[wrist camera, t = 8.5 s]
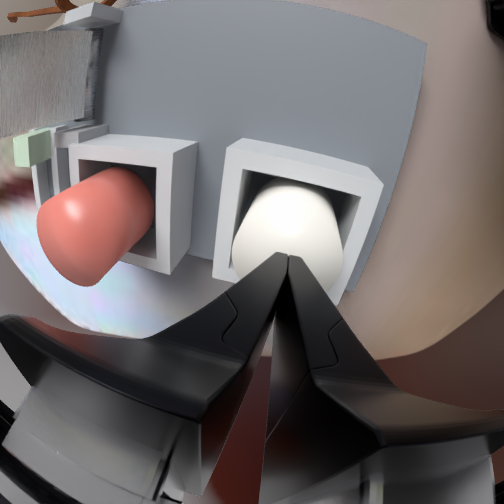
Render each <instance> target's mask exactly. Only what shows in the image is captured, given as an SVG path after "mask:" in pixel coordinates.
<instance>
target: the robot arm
mask: <svg viewBox="0 0 504 504" xmlns="http://www.w3.org/2000/svg"><path fill="white" fill-rule="evenodd" d="M487 23H488V27H489V28H490V30H491V31H492V32H493V33H494V34H496V35H497V36H498V37H500V38H501V39H502V40H504V0H487ZM494 25H495V26H496V28H495V26H494ZM274 317H275V320H274ZM273 320H274V334H273V349H272V364H271V365H272V366H271V378H270V392H269V405H268V416H267V428H266V438H265V448H264V459H263V468H262V479H261V488H260V496H259V504H504V481H502V482H500V483H498V484H496V485H495V483H494V474H493V467H492V461H491V454H492V453H494V452H495V451H497V450H498V449H499V448H501V447H502V446H504V410H502V409H497V410H491V411H479V410H470V409H465V408H460V407H456V406H452V405H448V404H444V403H440V402H436V401H432V400H428V399H425V398H421V397H418V396H414V395H411V394H408V393H406V392H404V391H402V390H401V389H400V388H398V387H397V386H396V385H395V384H394V383H393V382H392V381H391V380H390V378H389V377H388V376H387V375H386V373H385V372H384V371H383V370H382V369H381V367H380V366H379V365H378V364H377V362H376V361H375V360H374V359H373V358H372V356H371V355H370V354H369V353H368V351H367V350H366V349H365V348H364V346H363V345H362V344H361V343H360V341H359V340H358V339H357V337H356V336H355V334H354V333H353V332H352V330H351V329H350V327H349V326H348V324H347V323H346V321H345V320H344V319H343V317H342V316H341V314H340V313H339V311H338V310H337V308H336V307H335V305H334V304H333V302H332V301H331V299H330V298H329V296H328V295H327V293H326V292H325V291H324V289H323V288H322V286H321V285H320V283H319V282H318V280H317V279H316V278H315V276H314V275H313V273H312V272H311V270H310V269H309V268H308V266H307V265H306V263H305V262H304V260H303V259H302V258H301V257H299V256H294V255H289V256H288V254H286V253H281V252H275V253H274V254H273V255H271V256H270V257H269V258H268V259H266V260H265V261H264V262H262V263H261V264H260V265H259V266H257V267H256V268H255V269H254V270H252V271H251V272H250V273H248V274H247V275H246V276H245V277H243V278H242V279H241V280H240V281H238V282H237V283H236V284H234V285H233V286H232V287H231V288H229V289H228V290H227V291H225V292H224V293H223V294H221V295H220V296H219V297H217V298H216V299H215V300H213V301H212V302H211V303H209V304H208V305H206V306H205V307H203V308H202V309H200V310H198V311H197V312H195V313H193V314H192V315H190V316H188V317H186V318H185V319H183V320H181V321H179V322H177V323H175V324H174V325H172V326H170V327H168V328H166V329H165V330H163V331H161V332H159V333H157V334H155V335H153V336H150V337H147V338H143V339H127V338H116V337H105V336H96V335H88V334H80V333H74V332H69V331H64V330H61V329H58V328H55V327H52V326H50V325H48V324H46V323H44V322H42V321H41V320H39V319H37V318H35V317H33V316H30V315H22V314H8V315H4V316H1V317H0V342H1V344H2V346H3V347H4V349H5V350H6V352H7V353H8V355H9V356H10V358H11V359H12V361H13V362H14V364H15V365H16V367H17V368H18V369H19V371H20V372H21V373H22V375H23V376H24V377H25V379H26V380H27V381H28V383H29V384H30V385H31V388H30V390H29V392H28V393H27V395H26V396H25V397H24V399H23V401H22V402H21V404H20V405H19V407H18V408H17V410H16V412H13V411H12V410H11V409H10V408H9V407H8V406H7V405H5V404H4V403H3V402H2V401H1V400H0V504H184V503H183V502H182V499H183V496H184V492H186V493H190V494H193V495H197V496H202V494H203V491H204V489H205V487H206V485H207V483H208V480H209V479H210V476H211V474H212V472H213V470H214V467H215V465H216V463H217V461H218V458H219V456H220V454H221V452H222V449H223V447H224V445H225V442H226V440H227V438H228V435H229V433H230V430H231V428H232V426H233V423H234V421H235V419H236V416H237V414H238V411H239V409H240V406H241V404H242V402H243V399H244V397H245V394H246V392H247V389H248V387H249V384H250V381H251V379H252V376H253V374H254V371H255V368H256V366H257V363H258V361H259V358H260V355H261V353H262V350H263V348H264V345H265V342H266V339H267V337H268V334H269V331H270V329H271V326H272V323H273Z"/></svg>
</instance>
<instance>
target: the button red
mask: <svg viewBox="0 0 504 504" xmlns="http://www.w3.org/2000/svg"><path fill="white" fill-rule="evenodd" d="M153 218H154V204H153V200H152V196H151V194H150V191H149V189H148V188H147V186H146V184H145V183H144V182H143V180H142V179H141V178H140V177H139V176H138V175H137V174H135V173H134V172H132V171H131V170H129V169H126V168H123V167H110V168H107V169H105V170H103V171H101V172H99V173H97V174H95V175H93V176H91V177H89V178H87V179H85V180H83V181H81V182H79V183H77V184H75V185H73V186H72V187H70V188H68V189H66V190H64V191H62V192H61V193H59V194H57V195H55V196H54V197H52V198H50V199H49V200H47V201H45V202H44V203H43V204H42V205H41V207H40V209H39V211H38V215H37V232H38V237H39V241H40V243H41V246H42V249H43V251H44V253H45V255H46V256H47V258H48V260H49V261H50V263H51V264H52V265H53V267H54V268H55V269H56V270H57V271H58V272H59V273H60V274H61V275H62V276H63V277H65V278H66V279H67V280H69V281H71V282H72V283H74V284H77V285H80V286H87V287H88V286H93V285H95V284H96V283H98V282H99V281H100V280H101V279H102V277H103V276H104V275H105V274H106V273H107V272H108V271H109V270H110V269H111V268H112V267H113V266H114V265H115V264H116V263H117V262H118V261H119V260H120V259H121V258H122V257H123V256H124V255H125V254H126V252H127V251H128V250H129V249H130V248H131V247H132V246H133V245H134V244H135V243H137V242H138V241H139V240H140V239H141V238H142V237H143V236H144V235H145V234H146V233H147V232H148V230H149V229H150V227H151V225H152V222H153Z"/></svg>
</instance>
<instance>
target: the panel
mask: <svg viewBox="0 0 504 504" xmlns="http://www.w3.org/2000/svg"><path fill="white" fill-rule="evenodd" d="M88 28H104V35H103V41H102V47H101V53H100V61H99V69H98V78H97V88H96V102H95V119H94V120H90V121H83V122H74V120H69V121H65V122H60V123H55V124H51V125H47V126H43V127H39V128H35V129H31V130H30V132H32V131H35V130H39V129H42V128H49V127H53V128H50V145H51V158H50V159H48V160H45V161H43V162H41V163H38V164H36V165H34V166H32V175H33V184H34V191H35V198H36V205H37V211H39V209H40V207H41V205H42V204H43V203H44V202H45V201H47V200H49V199H50V198H52V197H54V196H55V195H57V194H59V193H61V192H62V191H64V190H66V189H68V188H70V187H72V186H73V185H75V184H77V183H79V182H81V181H83V180H85V179H87V178H89V177H91V176H93V175H95V174H97V173H99V172H101V171H103V170H105V169H107V168H110V167H123V168H126V169H129V170H131V171H132V172H134V173H135V174H137V175H138V176H139V177H140V178H141V179H142V180H143V182H144V183H145V184H146V186H147V188H148V189H149V191H150V194H151V196H152V200H153V204H154V218H153V222H152V225H151V227H150V229H149V230H148V232H147V233H146V234H145V235H144V236H143V237H142V238H141V239H140V240H139V241H138V242H137V243H135V244H134V245H133V246H132V247H131V248H130V249H129V250H128V251H127V252H126V254H125V255H124V256H123V257H122V258H121V259H120V260H119V261H122V262H126V263H129V264H132V265H136V266H139V267H143V268H146V269H150V270H154V271H157V272H161V273H164V274H168V275H171V273H172V272H173V270H174V269H175V267H176V266H177V265H178V263H179V262H180V260H181V259H182V258H183V256H184V255H185V254H188V255H192V256H196V257H200V258H205V259H209V260H213V272H212V278H216V279H220V280H224V281H228V282H233V283H237V282H238V281H240V278H239V277H238V275H237V273H236V271H235V269H234V266H233V262H232V246H233V241H234V239H235V236H236V234H237V232H238V230H239V228H240V226H241V224H242V222H243V220H244V218H245V216H246V214H247V212H248V210H249V208H250V206H251V204H252V202H253V200H254V198H255V196H256V195H257V193H258V191H259V190H260V189H261V188H262V187H263V186H264V185H265V184H266V183H267V182H269V181H270V180H272V179H274V178H277V177H279V176H280V177H285V178H289V179H294V180H298V181H303V182H307V183H311V184H315V185H319V186H322V187H323V189H324V190H325V191H326V192H327V194H328V195H329V197H330V199H331V202H332V205H333V209H334V213H335V217H336V222H337V226H338V231H339V235H340V240H341V244H342V250H343V265H342V269H341V272H340V275H339V277H338V279H337V280H336V282H335V283H334V284H333V285H332V287H331V288H330V289H329V290H327V291H326V293H327V295H328V296H329V298H330V299H331V301H332V302H333V304H334V305H336V306H337V305H338V303H339V301H340V299H341V296H342V294H343V292H344V290H345V291H350V292H353V291H354V289H355V287H356V285H357V283H358V280H359V278H360V276H361V274H362V271H363V269H364V267H365V264H366V262H367V259H368V257H369V255H370V252H371V250H372V247H373V245H374V242H375V240H376V237H377V234H378V232H379V229H380V227H381V224H382V221H383V218H384V216H385V213H386V210H387V207H388V204H389V201H390V199H391V196H392V193H393V190H394V187H395V183H396V180H397V177H398V174H399V171H400V167H401V164H402V161H403V157H404V154H405V150H406V146H407V143H408V139H409V135H410V131H411V127H412V123H413V119H414V114H415V110H416V106H417V101H418V96H419V91H420V86H421V80H422V75H423V69H424V62H425V56H426V48H427V43H426V42H424V41H421V40H419V39H417V38H415V37H412V36H410V35H408V34H405V33H403V32H400V31H398V30H395V29H393V28H390V27H387V26H384V25H382V24H379V23H376V22H373V21H370V20H367V19H363V18H360V17H357V16H353V15H350V14H346V13H342V12H338V11H334V10H330V9H325V8H321V7H316V6H311V5H305V4H299V3H293V2H286V1H278V0H165V1H157V2H150V3H144V4H138V5H133V6H128V7H123V8H118V9H117V8H114V7H110V6H107V5H103V4H100V3H96V2H93V3H89V4H86V5H83V6H80V7H78V8H75V9H72V10H69V11H67V12H66V15H65V19H64V24H63V25H61V26H58V27H56V28H53V29H50V30H48V31H62V30H75V31H83V30H85V29H88Z"/></svg>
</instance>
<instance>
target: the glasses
mask: <svg viewBox="0 0 504 504" xmlns="http://www.w3.org/2000/svg"><path fill="white" fill-rule="evenodd" d="M116 1H117V0H104V1H103V2H101V3H100V4H103V5H107V6H112V5H113V4H114V3H115V2H116ZM55 3H56V5H57V7H51V8H45V9H39V10H34V11H30V12H14V13H9V14H8V17H7V18H8V19H9V20H10V22H16V21H17V17H28V16H29V17H31V16H39V15H46V14H55V13H66V12H67V11H69V10H72V9H75V8H78V7H77V6H75V5H73V4H72V3H71V2H70V1H69V0H55Z"/></svg>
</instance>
